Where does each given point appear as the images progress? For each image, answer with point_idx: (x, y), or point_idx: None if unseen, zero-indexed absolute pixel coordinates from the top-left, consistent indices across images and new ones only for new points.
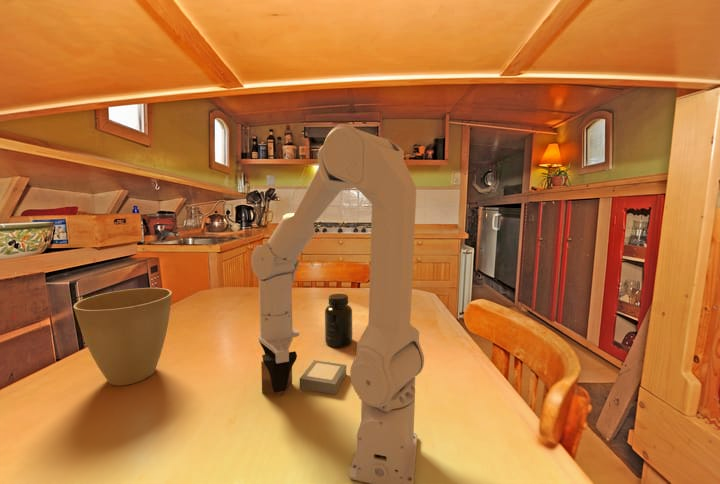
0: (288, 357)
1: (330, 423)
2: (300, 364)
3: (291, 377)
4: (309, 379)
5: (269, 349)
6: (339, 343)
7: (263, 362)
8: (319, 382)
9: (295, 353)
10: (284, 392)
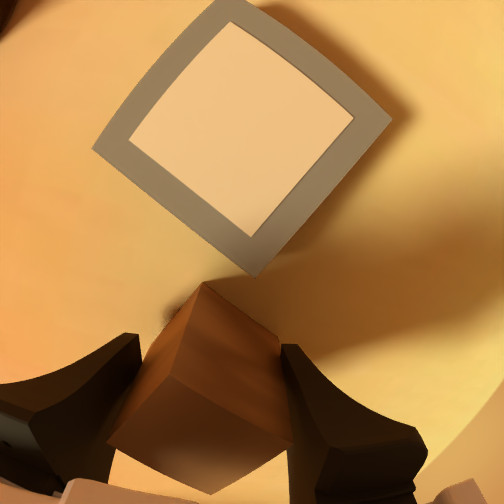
0: (481, 495)
1: (487, 216)
2: (53, 205)
3: (203, 302)
4: (290, 232)
5: (101, 462)
6: (1, 6)
7: (218, 489)
8: (334, 186)
9: (383, 451)
10: (261, 328)
